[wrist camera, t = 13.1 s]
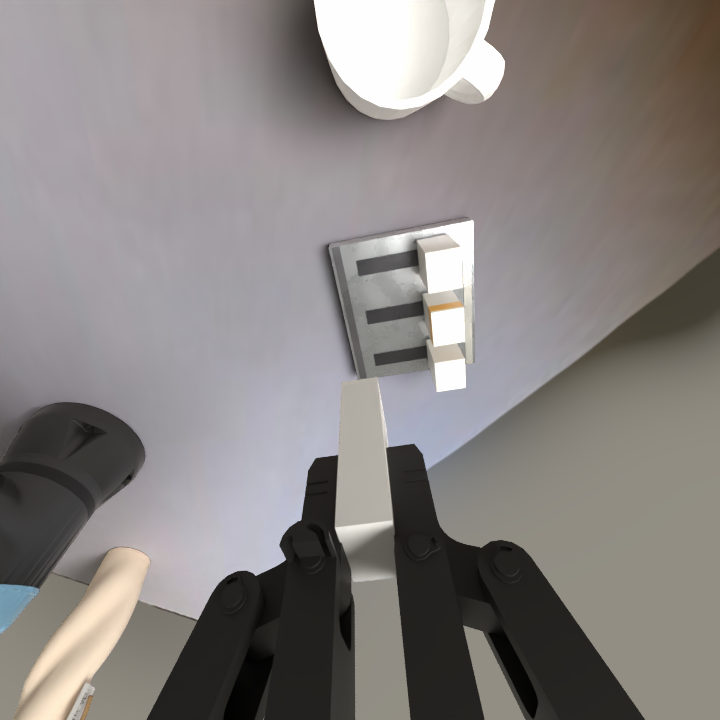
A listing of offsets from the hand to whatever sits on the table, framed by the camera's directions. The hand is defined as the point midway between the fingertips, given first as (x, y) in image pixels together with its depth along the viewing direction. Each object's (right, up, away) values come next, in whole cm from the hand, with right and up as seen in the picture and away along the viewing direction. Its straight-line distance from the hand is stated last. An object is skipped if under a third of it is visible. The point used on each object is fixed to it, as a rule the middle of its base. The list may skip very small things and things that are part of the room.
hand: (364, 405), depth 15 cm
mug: (+3, +27, +13) cm, 30 cm away
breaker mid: (+8, +8, +22) cm, 25 cm away
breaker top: (+7, +12, +19) cm, 24 cm away
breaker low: (+9, +3, +25) cm, 27 cm away
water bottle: (-43, -35, +50) cm, 75 cm away
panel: (+5, +8, +24) cm, 26 cm away
